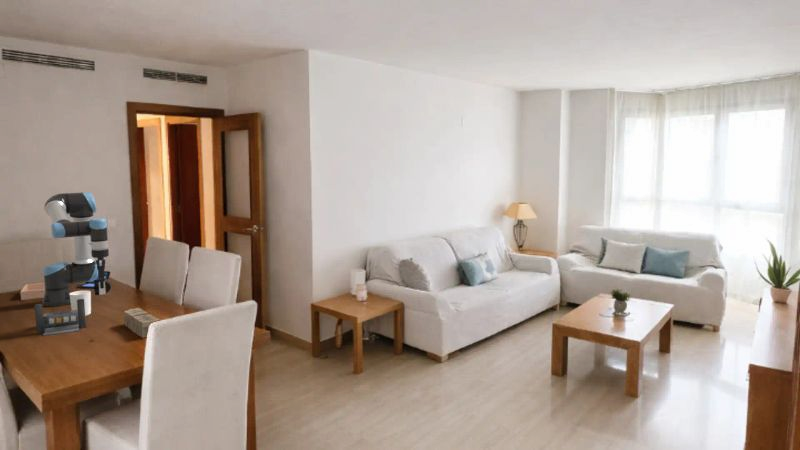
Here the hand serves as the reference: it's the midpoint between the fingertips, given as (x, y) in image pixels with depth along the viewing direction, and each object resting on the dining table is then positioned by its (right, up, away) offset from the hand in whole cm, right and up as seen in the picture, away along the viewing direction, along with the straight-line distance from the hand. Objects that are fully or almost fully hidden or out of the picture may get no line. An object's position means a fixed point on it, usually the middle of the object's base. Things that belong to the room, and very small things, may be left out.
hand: (102, 291), depth 259 cm
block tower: (+26, -17, -13) cm, 34 cm away
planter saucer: (-70, -9, +56) cm, 90 cm away
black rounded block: (0, -1, 0) cm, 1 cm away
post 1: (-19, -17, -17) cm, 31 cm away
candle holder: (-19, -14, +13) cm, 27 cm away
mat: (-12, -17, -13) cm, 25 cm away
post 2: (-5, -16, -9) cm, 19 cm away
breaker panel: (-17, -16, -4) cm, 24 cm away
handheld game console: (-51, -7, +77) cm, 92 cm away
